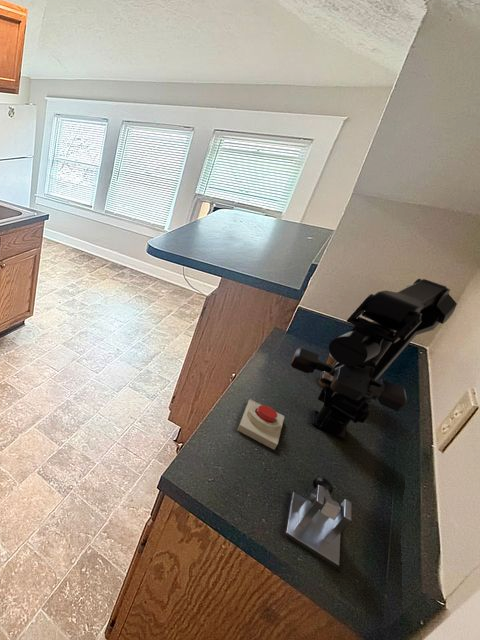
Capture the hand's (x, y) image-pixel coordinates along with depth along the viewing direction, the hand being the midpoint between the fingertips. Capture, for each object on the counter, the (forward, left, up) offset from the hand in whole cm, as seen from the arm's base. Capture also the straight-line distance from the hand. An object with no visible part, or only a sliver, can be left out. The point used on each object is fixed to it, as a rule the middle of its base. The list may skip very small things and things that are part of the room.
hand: (325, 405), depth 85 cm
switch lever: (+19, +4, -9) cm, 21 cm away
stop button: (+1, -8, -9) cm, 13 cm away
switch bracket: (+23, +4, -13) cm, 27 cm away
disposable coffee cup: (-33, +5, -13) cm, 36 cm away
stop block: (+1, -8, -13) cm, 16 cm away
